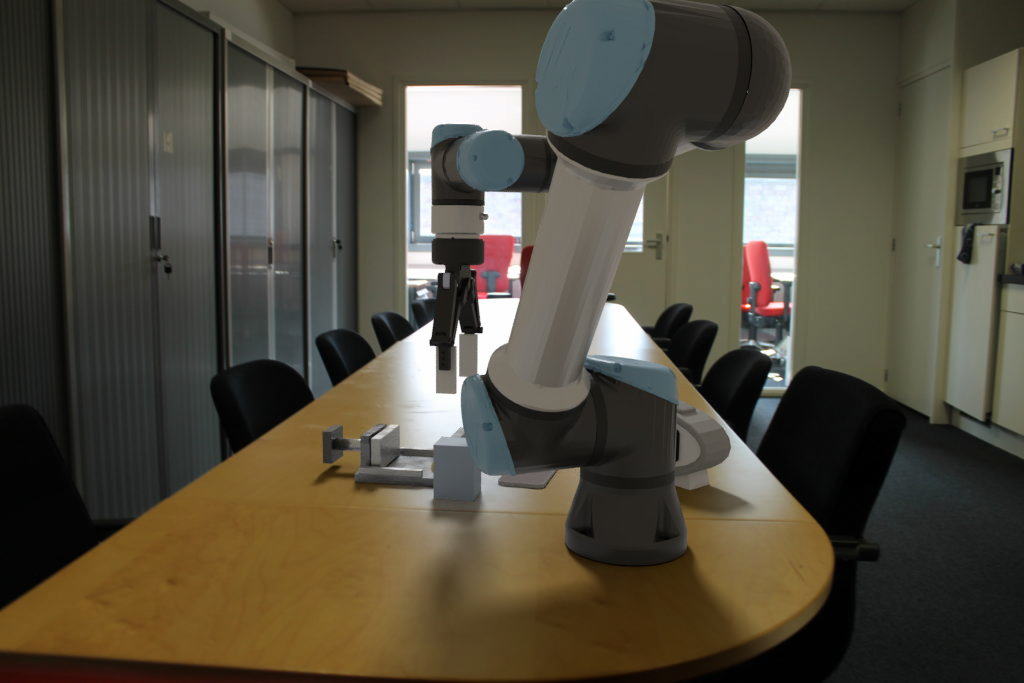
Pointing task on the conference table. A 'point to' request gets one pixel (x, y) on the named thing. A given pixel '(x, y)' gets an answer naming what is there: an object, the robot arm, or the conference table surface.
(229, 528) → the conference table surface
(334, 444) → the ram
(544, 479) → the smartphone
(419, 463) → the press bed
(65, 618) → the conference table surface
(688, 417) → the alarm clock
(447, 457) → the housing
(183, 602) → the conference table surface
